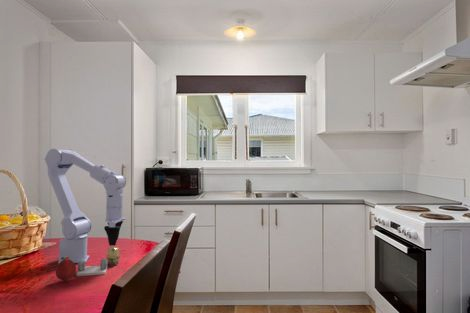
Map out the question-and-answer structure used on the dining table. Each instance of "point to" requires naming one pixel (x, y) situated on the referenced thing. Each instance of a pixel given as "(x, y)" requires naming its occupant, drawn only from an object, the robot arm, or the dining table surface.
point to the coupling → (113, 256)
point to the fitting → (91, 268)
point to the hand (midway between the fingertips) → (113, 242)
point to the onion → (65, 269)
